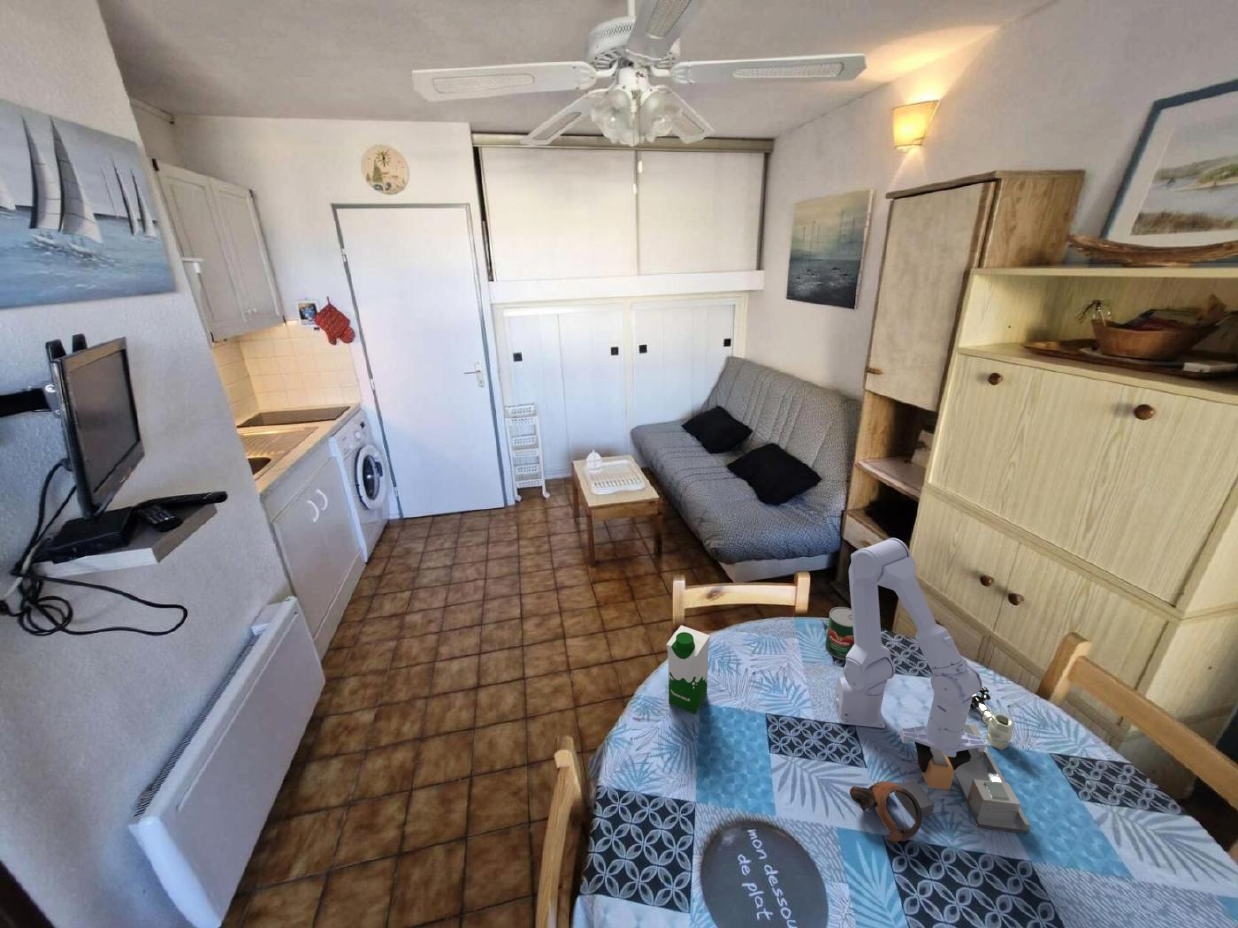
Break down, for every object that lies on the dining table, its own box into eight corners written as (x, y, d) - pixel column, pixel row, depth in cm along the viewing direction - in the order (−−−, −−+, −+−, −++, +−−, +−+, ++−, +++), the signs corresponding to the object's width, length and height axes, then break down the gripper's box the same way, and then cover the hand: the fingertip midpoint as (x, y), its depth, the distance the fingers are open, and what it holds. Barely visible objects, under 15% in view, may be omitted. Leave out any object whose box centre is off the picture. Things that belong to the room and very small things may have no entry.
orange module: (927, 786, 100) (932, 767, 98) (916, 759, 106) (921, 740, 104) (949, 789, 99) (955, 770, 98) (937, 762, 105) (942, 743, 103)
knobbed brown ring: (900, 792, 100) (924, 787, 93) (905, 850, 94) (930, 849, 88) (840, 773, 101) (859, 766, 95) (840, 829, 95) (861, 826, 89)
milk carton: (663, 703, 122) (662, 637, 115) (680, 679, 129) (680, 615, 122) (697, 719, 117) (698, 651, 110) (712, 692, 124) (714, 627, 117)
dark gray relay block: (914, 820, 95) (916, 809, 94) (894, 795, 99) (897, 784, 98) (932, 814, 95) (934, 803, 94) (911, 789, 100) (914, 779, 99)
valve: (1018, 751, 106) (985, 705, 118) (1026, 728, 104) (991, 684, 115) (985, 750, 107) (955, 704, 118) (992, 727, 105) (961, 683, 116)
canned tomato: (828, 658, 133) (833, 624, 129) (822, 638, 141) (826, 605, 137) (860, 661, 132) (865, 627, 128) (852, 640, 139) (857, 607, 135)
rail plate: (977, 827, 93) (985, 805, 91) (934, 734, 111) (939, 714, 109) (1026, 833, 91) (1035, 811, 89) (974, 738, 110) (980, 718, 107)
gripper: (913, 732, 95) (901, 783, 100) (999, 741, 92) (983, 793, 97) (900, 702, 101) (890, 751, 106) (980, 710, 99) (966, 760, 104)
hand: (933, 769), depth 102 cm, fingers closed on orange module, 4 cm apart
